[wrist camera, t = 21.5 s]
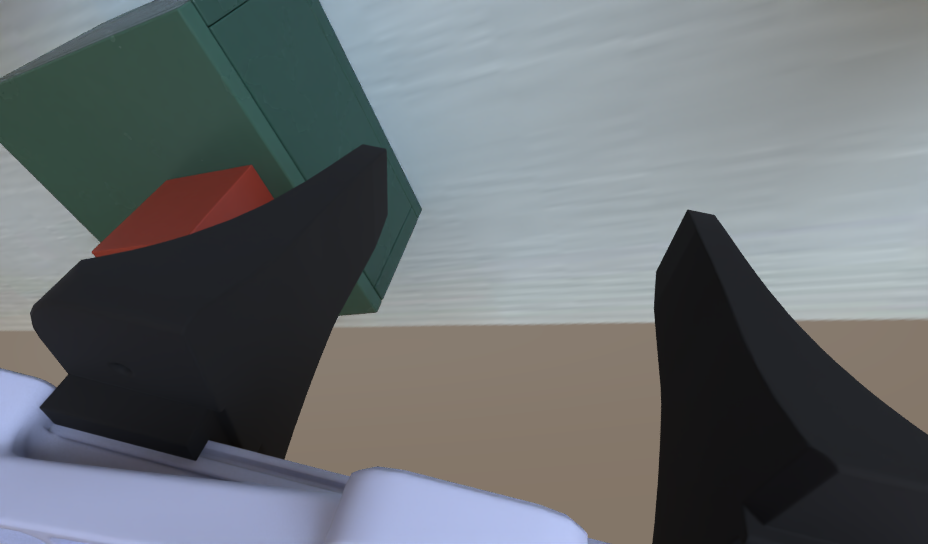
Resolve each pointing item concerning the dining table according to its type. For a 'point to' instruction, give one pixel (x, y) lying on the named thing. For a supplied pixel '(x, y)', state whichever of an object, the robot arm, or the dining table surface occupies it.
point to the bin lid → (142, 123)
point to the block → (188, 208)
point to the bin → (295, 96)
